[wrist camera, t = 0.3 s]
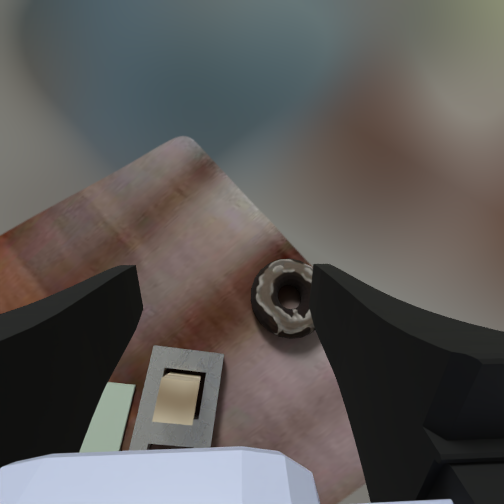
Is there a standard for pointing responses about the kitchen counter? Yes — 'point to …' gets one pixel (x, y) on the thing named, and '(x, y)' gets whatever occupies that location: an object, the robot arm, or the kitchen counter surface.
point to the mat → (109, 419)
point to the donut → (267, 301)
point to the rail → (159, 362)
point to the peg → (177, 398)
